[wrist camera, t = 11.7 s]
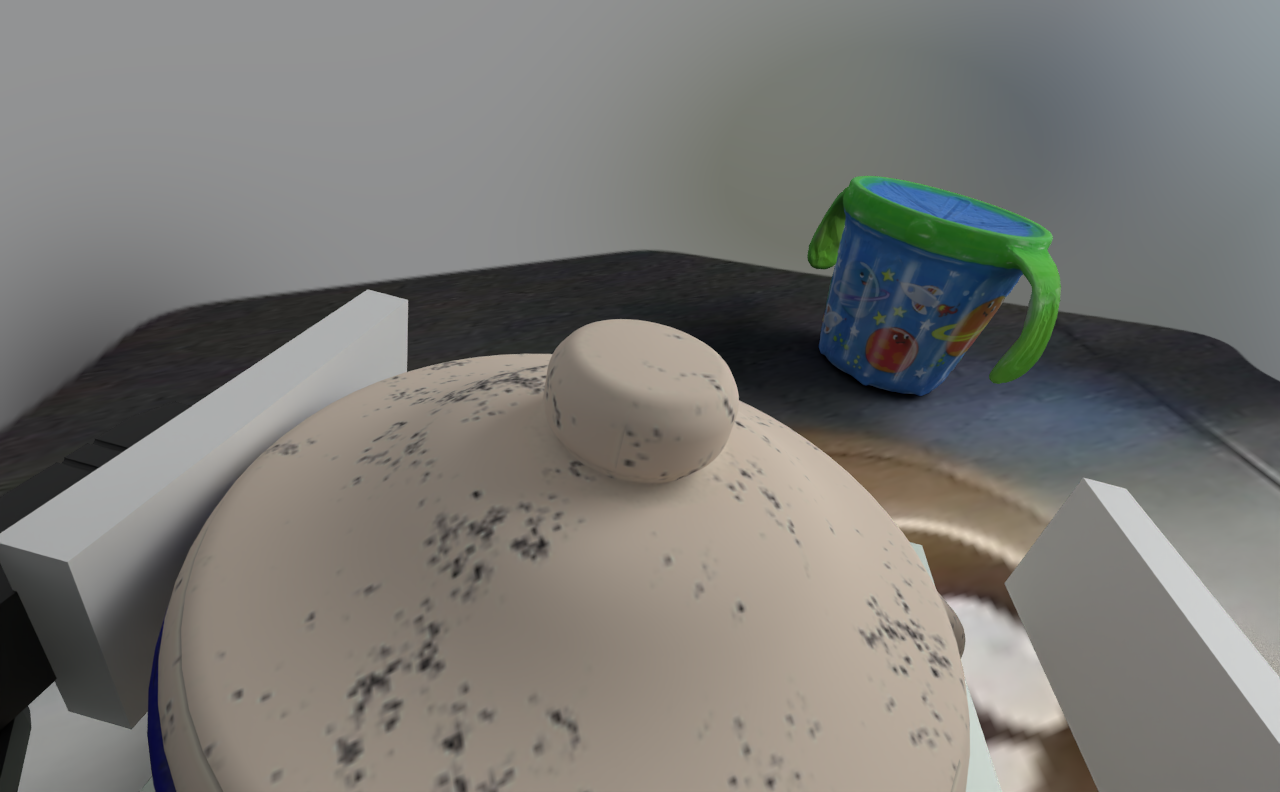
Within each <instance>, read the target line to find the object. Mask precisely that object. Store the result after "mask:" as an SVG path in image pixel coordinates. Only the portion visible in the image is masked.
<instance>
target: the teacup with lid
mask: <svg viewBox="0 0 1280 792" xmlns="http://www.w3.org/2000/svg"><path fill="white" fill-rule="evenodd" d="M964 646H965V634H964V629H963V626H962V624H961V622H960V620H959V619H958V617H957V615H956V614H955V612H954V611H953V610H952V608H951V607H950V606H949V605H948V604H947V602H946V601H945V600H944V599H943V597H942V596H941V595H940V594H939V593H938V592H937V590H936V588H935V586H934V583H933V581H932V579H931V578H930V576H929V574H928V572H927V571H926V569H925V567H924V565H923V563H922V562H921V560H920V558H919V556H918V555H917V553H916V552H915V550H914V549H913V547H912V546H911V544H910V543H909V541H908V540H907V538H906V537H905V535H904V534H903V532H902V531H901V530H900V529H899V527H898V526H897V525H896V524H895V522H894V521H893V520H892V519H891V517H890V516H889V515H888V513H887V512H886V511H885V510H884V509H883V508H882V507H881V505H880V504H879V503H878V502H877V501H876V500H875V499H874V498H873V497H872V496H871V494H870V493H869V492H868V491H867V490H866V489H865V488H864V487H863V486H862V485H860V484H859V483H858V482H857V481H856V480H855V479H854V478H853V477H852V476H851V475H850V474H849V473H848V472H847V471H846V470H844V469H843V468H842V467H841V466H840V465H839V464H837V463H836V462H835V461H834V460H833V459H832V458H830V457H829V456H828V455H827V454H825V453H824V452H823V451H821V450H820V449H819V448H817V447H816V446H815V445H814V444H812V443H811V442H810V441H808V440H807V439H805V438H804V437H802V436H801V435H799V434H798V433H796V432H795V431H793V430H792V429H790V428H789V427H787V426H785V425H784V424H782V423H780V422H779V421H777V420H775V419H774V418H772V417H770V416H769V415H767V414H765V413H763V412H761V411H759V410H757V409H755V408H754V407H752V406H750V405H748V404H746V403H744V402H741V401H739V395H738V389H737V385H736V383H735V380H734V378H733V375H732V373H731V371H730V369H729V367H728V365H727V364H726V363H725V361H724V360H723V359H722V357H721V356H720V355H719V354H718V353H717V352H716V351H714V350H713V349H712V348H711V347H709V346H708V345H707V344H705V343H703V342H702V341H700V340H698V339H697V338H695V337H693V336H691V335H689V334H687V333H684V332H682V331H680V330H677V329H674V328H671V327H668V326H665V325H661V324H657V323H653V322H647V321H641V320H630V319H613V320H603V321H598V322H594V323H591V324H588V325H585V326H583V327H581V328H579V329H578V330H576V331H574V332H573V333H572V334H571V335H569V336H568V337H567V338H566V339H565V340H564V341H562V342H561V343H560V345H559V346H558V347H557V348H556V350H555V351H554V353H553V354H511V355H495V356H485V357H476V358H469V359H462V360H456V361H451V362H446V363H441V364H436V365H431V366H428V367H424V368H420V369H417V370H413V371H409V372H406V373H402V374H399V375H396V376H393V377H390V378H387V379H385V380H382V381H379V382H376V383H374V384H372V385H369V386H367V387H364V388H362V389H360V390H357V391H355V392H353V393H351V394H349V395H347V396H345V397H343V398H341V399H339V400H337V401H335V402H333V403H331V404H329V405H328V406H326V407H325V408H323V409H321V410H320V411H318V412H316V413H315V414H313V415H311V416H310V417H308V418H307V419H305V420H304V421H302V422H301V423H300V424H298V425H297V426H296V427H294V428H293V429H291V430H290V431H289V432H287V433H286V434H285V435H283V436H282V437H281V438H279V439H278V440H277V441H276V442H275V443H274V444H272V445H271V446H270V447H269V448H268V449H267V450H266V451H264V452H263V453H262V454H261V455H260V456H259V457H258V458H257V459H256V460H255V461H254V462H253V463H252V464H251V465H250V466H249V467H248V468H247V469H246V470H245V472H244V473H243V474H242V475H241V476H240V477H239V478H238V479H237V480H236V481H235V483H234V484H233V485H232V487H231V488H230V489H229V490H228V492H227V493H226V494H225V496H224V497H223V498H222V500H221V501H220V502H219V504H218V505H217V506H216V508H215V509H214V510H213V512H212V513H211V515H210V516H209V518H208V519H207V521H206V523H205V524H204V526H203V528H202V529H201V531H200V533H199V534H198V536H197V538H196V539H195V541H194V543H193V545H192V546H191V548H190V550H189V552H188V554H187V557H186V559H185V561H184V563H183V566H182V568H181V570H180V573H179V575H178V577H177V579H176V582H175V585H174V588H173V592H172V595H171V599H170V602H169V605H168V607H167V610H166V613H165V616H164V619H163V623H162V626H161V630H160V633H159V636H158V640H157V643H156V646H155V651H154V658H153V664H152V670H151V676H150V683H149V689H148V730H147V735H148V745H149V753H150V761H151V770H152V778H153V785H154V789H155V792H966V785H967V776H968V767H969V758H970V718H969V708H968V700H967V693H966V685H965V677H964V672H963V667H962V663H961V657H962V654H963V651H964Z"/></svg>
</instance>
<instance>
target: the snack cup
mask: <svg viewBox="0 0 1280 792" xmlns="http://www.w3.org/2000/svg"><path fill="white" fill-rule="evenodd" d="M844 226H845V228H844ZM843 230H844V231H843ZM1052 238H1053V237H1052V235H1051V233H1050V232H1049V231H1048V230H1046V229H1045V228H1044V227H1042V226H1041V225H1039V224H1037V223H1035V222H1033V221H1031V220H1029V219H1027V218H1025V217H1022V216H1020V215H1017V214H1015V213H1013V212H1010V211H1008V210H1005V209H1002V208H999V207H997V206H994V205H991V204H988V203H985V202H982V201H979V200H976V199H973V198H970V197H966V196H963V195H960V194H956V193H952V192H949V191H946V190H942V189H938V188H934V187H930V186H927V185H922V184H917V183H913V182H909V181H904V180H898V179H892V178H886V177H878V176H859V177H855V178H853V179H852V180H851V182H850V185H849V187H847V188H845V189H844V191H843V192H841V193H840V194H839V195H838V196H837V198H836V199H835V201H834V202H833V204H832V205H831V207H830V208H829V210H828V211H827V213H826V215H825V216H824V218H823V220H822V222H821V224H820V225H819V227H818V228H817V230H816V232H815V234H814V236H813V238H812V241H811V243H810V245H809V250H808V261H809V263H810V265H811V266H812V267H814V268H816V269H828V268H830V267H832V266H833V265H835V264H836V265H835V268H834V272H833V276H832V280H831V284H830V289H829V293H828V298H827V303H826V309H825V312H824V317H823V321H822V329H821V335H820V343H819V349H820V352H821V354H823V355H825V356H826V357H827V359H828V360H829V361H830V362H831V363H832V364H833V365H834V366H835V367H837V368H838V369H840V370H842V371H844V372H846V373H848V374H850V375H852V376H853V377H854V378H855V379H856V380H858V381H859V382H860V383H861V384H863V385H871V386H874V387H876V388H880V389H884V390H888V391H891V392H898V393H904V394H916V395H918V396H922V395H924V394H927V393H929V392H931V391H932V390H933V389H935V388H936V387H938V386H939V385H940V384H941V383H942V382H943V381H944V380H945V379H946V378H947V376H948V375H949V373H950V372H951V371H952V370H953V369H954V368H955V366H956V364H957V363H958V362H959V361H960V360H961V359H962V357H963V356H964V354H965V352H966V351H967V350H968V348H969V347H970V346H971V345H972V343H973V342H974V341H975V340H976V338H977V337H978V336H979V334H980V333H981V332H982V330H983V329H984V328H985V326H986V325H987V323H988V322H989V321H990V319H991V318H992V317H993V315H994V314H995V313H996V311H997V310H998V308H999V307H1000V305H1001V304H1002V303H1003V301H1004V299H1005V297H1006V296H1007V295H1008V294H1009V293H1010V292H1011V290H1012V289H1013V287H1014V286H1015V285H1016V283H1017V282H1018V280H1019V278H1020V277H1021V275H1023V274H1024V275H1025V277H1026V278H1027V279H1028V281H1029V282H1030V284H1031V286H1032V295H1031V299H1030V301H1029V307H1028V312H1027V316H1026V320H1025V323H1024V328H1023V331H1022V334H1021V336H1020V337H1019V339H1018V340H1017V341H1016V342H1015V343H1014V344H1013V345H1012V347H1011V348H1010V349H1009V350H1008V351H1007V352H1006V353H1005V355H1004V356H1003V357H1002V358H1001V359H1000V361H999V362H998V363H997V364H996V366H995V367H994V368H993V370H992V371H991V373H990V375H989V379H990V380H991V381H992V382H993V383H997V384H1000V383H1006V382H1009V381H1012V380H1015V379H1017V378H1019V377H1020V376H1022V375H1023V374H1025V373H1026V372H1027V371H1028V370H1029V369H1030V368H1031V367H1032V366H1033V365H1034V364H1035V363H1036V362H1037V360H1038V359H1039V358H1040V357H1041V355H1042V353H1043V351H1044V349H1045V348H1046V345H1047V343H1048V341H1049V339H1050V336H1051V333H1052V330H1053V328H1054V324H1055V321H1056V318H1057V313H1058V308H1059V302H1060V290H1061V285H1060V276H1059V273H1058V270H1057V266H1056V265H1055V263H1054V261H1053V260H1052V258H1051V256H1050V255H1049V253H1048V251H1047V250H1048V248H1049V246H1050V244H1051V242H1052Z"/></svg>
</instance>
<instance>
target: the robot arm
mask: <svg viewBox="0 0 1280 792" xmlns="http://www.w3.org/2000/svg"><path fill="white" fill-rule="evenodd" d="M407 329H408V300H406V299H402V298H398V297H394V296H390V295H387V294H383V293H379V292H375V291H371V290H366V291H365V292H363V293H362V294H360V295H359V296H357V297H356V298H354V299H353V300H351V301H350V302H348V303H347V304H345V305H344V306H342V307H341V308H339V309H338V310H336V311H335V312H333V313H332V314H330V315H329V316H327V317H326V318H324V319H323V320H321V321H320V322H318V323H317V324H315V325H314V326H312V327H311V328H309V329H308V330H306V331H305V332H303V333H302V334H300V335H299V336H297V337H296V338H294V339H293V340H291V341H290V342H288V343H287V344H285V345H283V346H282V347H280V348H279V349H277V350H276V351H274V352H273V353H271V354H270V355H268V356H267V357H265V358H264V359H262V360H261V361H259V362H258V363H256V364H255V365H253V366H252V367H250V368H249V369H247V370H246V371H244V372H243V373H241V374H240V375H238V376H237V377H235V378H234V379H232V380H231V381H229V382H228V383H226V384H225V385H223V386H222V387H220V388H219V389H217V390H216V391H214V392H213V393H211V394H210V395H208V396H207V397H205V398H204V399H202V400H201V401H199V402H198V403H196V404H195V405H193V406H190V405H187V404H183V403H179V402H176V401H175V402H172V403H169V404H166V405H163V406H160V407H157V408H154V409H151V410H149V411H146V412H143V413H140V414H137V415H134V416H131V417H129V418H128V419H126V420H125V421H123V422H121V423H120V424H118V425H116V426H115V427H113V428H112V429H110V430H108V431H107V432H105V433H103V434H102V435H100V436H99V437H97V438H95V442H94V443H93V444H89V443H87V444H86V445H84V446H82V447H81V448H79V449H77V450H76V451H74V452H72V453H71V454H69V455H68V456H66V457H64V461H63V462H62V463H57V462H56V463H55V464H53V465H51V466H50V467H48V468H46V469H45V470H43V471H42V472H40V473H38V474H37V475H35V476H33V477H32V478H30V479H29V480H27V481H25V482H24V483H22V484H20V485H19V486H17V487H16V488H14V489H12V490H11V491H9V492H7V493H6V494H4V495H3V496H1V497H0V792H17V791H18V786H19V782H20V777H21V773H22V768H23V763H24V759H25V754H26V750H27V745H28V741H29V736H30V731H31V717H30V709H29V707H28V705H29V704H30V703H31V702H32V701H33V700H35V699H36V698H37V697H38V696H39V695H40V694H41V693H42V692H43V691H44V690H45V689H46V688H48V687H49V686H50V685H51V684H52V683H53V682H54V681H55V683H56V685H57V687H58V689H59V691H60V693H61V695H62V698H63V700H64V702H65V704H66V706H67V708H68V711H70V712H73V713H77V714H80V715H84V716H87V717H91V718H94V719H98V720H101V721H105V722H108V723H112V724H115V725H119V726H122V727H125V728H129V729H132V728H133V727H134V726H135V725H136V724H137V723H138V721H139V720H140V719H141V718H142V717H143V716H144V715H145V714H146V713H147V711H148V689H149V683H150V676H151V670H152V664H153V658H154V651H155V646H156V643H157V640H158V636H159V633H160V630H161V626H162V623H163V619H164V616H165V613H166V610H167V607H168V605H169V602H170V599H171V595H172V592H173V588H174V585H175V582H176V579H177V577H178V575H179V573H180V570H181V568H182V566H183V563H184V561H185V559H186V557H187V554H188V552H189V550H190V548H191V546H192V545H193V543H194V541H195V539H196V538H197V536H198V534H199V533H200V531H201V529H202V528H203V526H204V524H205V523H206V521H207V519H208V518H209V516H210V515H211V513H212V512H213V510H214V509H215V508H216V506H217V505H218V504H219V502H220V501H221V500H222V498H223V497H224V496H225V494H226V493H227V492H228V490H229V489H230V488H231V487H232V485H233V484H234V483H235V481H236V480H237V479H238V478H239V477H240V476H241V475H242V474H243V473H244V472H245V470H246V469H247V468H248V467H249V466H250V465H251V464H252V463H253V462H254V461H255V460H256V459H257V458H258V457H259V456H260V455H261V454H262V453H263V452H264V451H266V450H267V449H268V448H269V447H270V446H271V445H272V444H274V443H275V442H276V441H277V440H278V439H279V438H281V437H282V436H283V435H285V434H286V433H287V432H289V431H290V430H291V429H293V428H294V427H296V426H297V425H298V424H300V423H301V422H302V421H304V420H305V419H307V418H308V417H310V416H311V415H313V414H315V413H316V412H318V411H320V410H321V409H323V408H325V407H326V406H328V405H329V404H331V403H333V402H335V401H337V400H339V399H341V398H343V397H345V396H347V395H349V394H351V393H353V392H355V391H357V390H360V389H362V388H364V387H367V386H369V385H372V384H374V383H376V382H379V381H382V380H385V379H387V378H390V377H393V376H396V375H399V374H402V373H406V372H407ZM1005 586H1006V588H1007V590H1008V592H1009V594H1010V597H1011V599H1012V601H1013V603H1014V605H1015V608H1016V610H1017V612H1018V614H1019V616H1020V619H1021V621H1022V623H1023V625H1024V628H1025V630H1026V632H1027V634H1028V636H1029V639H1030V641H1031V643H1032V645H1033V647H1034V650H1035V652H1036V654H1037V656H1038V658H1039V661H1040V663H1041V665H1042V667H1043V669H1044V672H1045V674H1046V676H1047V678H1048V680H1049V683H1050V685H1051V687H1052V689H1053V692H1054V694H1055V696H1056V698H1057V700H1058V703H1059V705H1060V707H1061V709H1062V711H1063V714H1064V716H1065V718H1066V720H1067V722H1068V725H1069V727H1070V729H1071V731H1072V733H1073V736H1074V738H1075V740H1076V742H1077V744H1078V747H1079V749H1080V751H1081V753H1082V756H1083V758H1084V760H1085V762H1086V764H1087V767H1088V769H1089V771H1090V773H1091V775H1092V778H1093V780H1094V782H1095V784H1096V786H1097V789H1098V791H1099V792H1280V677H1279V676H1278V675H1277V674H1276V672H1275V671H1274V670H1273V669H1272V668H1271V666H1270V665H1269V664H1268V663H1267V661H1266V660H1265V659H1264V658H1263V656H1262V655H1261V654H1260V653H1259V652H1258V650H1257V649H1256V648H1255V647H1254V645H1253V644H1252V643H1251V642H1250V640H1249V639H1248V638H1247V637H1246V636H1245V634H1244V633H1243V632H1242V631H1241V629H1240V628H1239V627H1238V626H1237V624H1236V623H1235V622H1234V621H1233V620H1232V618H1231V617H1230V616H1229V615H1228V613H1227V612H1226V611H1225V610H1224V609H1223V607H1222V606H1221V605H1220V604H1219V602H1218V601H1217V600H1216V599H1215V597H1214V596H1213V595H1212V594H1211V593H1210V591H1209V590H1208V589H1207V588H1206V586H1205V585H1204V584H1203V583H1202V581H1201V580H1200V579H1199V578H1198V577H1197V575H1196V574H1195V573H1194V572H1193V570H1192V569H1191V568H1190V567H1189V566H1188V564H1187V563H1186V562H1185V561H1184V559H1183V558H1182V557H1181V556H1180V554H1179V553H1178V552H1177V551H1176V550H1175V548H1174V547H1173V546H1172V545H1171V543H1170V542H1169V541H1168V540H1167V538H1166V537H1165V536H1164V535H1163V534H1162V532H1161V531H1160V530H1159V529H1158V527H1157V526H1156V525H1155V524H1154V523H1153V521H1152V520H1151V519H1150V518H1149V516H1148V515H1147V514H1146V513H1145V511H1144V510H1143V509H1142V508H1141V507H1140V505H1139V504H1138V503H1137V502H1136V500H1135V499H1134V498H1133V497H1132V495H1131V494H1130V493H1129V492H1128V491H1127V489H1125V488H1121V487H1117V486H1113V485H1110V484H1106V483H1102V482H1098V481H1094V480H1090V479H1087V478H1083V479H1082V480H1081V481H1080V483H1079V484H1078V485H1077V487H1076V488H1075V489H1074V491H1073V492H1072V493H1071V495H1070V496H1069V497H1068V499H1067V500H1066V501H1065V503H1064V504H1063V505H1062V507H1061V508H1060V509H1059V511H1058V512H1057V514H1056V515H1055V516H1054V518H1053V519H1052V520H1051V522H1050V523H1049V524H1048V526H1047V527H1046V528H1045V530H1044V531H1043V532H1042V534H1041V535H1040V536H1039V538H1038V539H1037V540H1036V542H1035V543H1034V544H1033V546H1032V547H1031V548H1030V550H1029V551H1028V553H1027V554H1026V555H1025V557H1024V558H1023V559H1022V561H1021V562H1020V563H1019V565H1018V566H1017V567H1016V569H1015V570H1014V571H1013V573H1012V574H1011V575H1010V577H1009V578H1008V579H1007V581H1006V582H1005Z"/></svg>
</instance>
